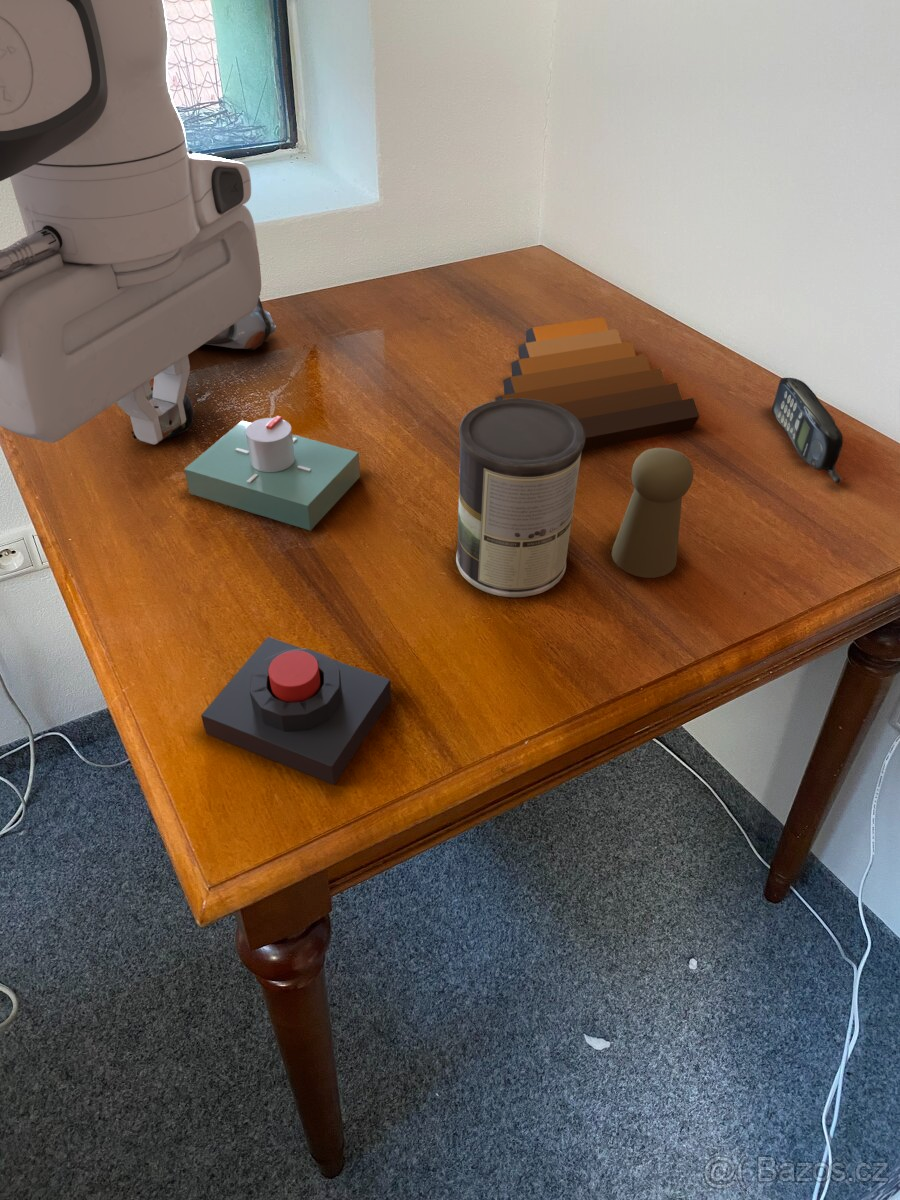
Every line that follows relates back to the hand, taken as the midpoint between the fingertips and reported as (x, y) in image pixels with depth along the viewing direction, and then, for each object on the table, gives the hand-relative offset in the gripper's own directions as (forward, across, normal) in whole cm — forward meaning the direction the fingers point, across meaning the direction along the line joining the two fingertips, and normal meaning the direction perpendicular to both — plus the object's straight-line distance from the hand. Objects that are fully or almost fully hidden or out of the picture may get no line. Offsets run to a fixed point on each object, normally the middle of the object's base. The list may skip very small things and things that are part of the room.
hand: (161, 432), depth 55 cm
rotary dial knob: (+19, +24, +10) cm, 32 cm away
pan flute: (+22, +53, -9) cm, 58 cm away
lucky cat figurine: (+21, +48, +34) cm, 63 cm away
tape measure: (+22, +27, +27) cm, 44 cm away
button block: (+22, -1, -8) cm, 24 cm away
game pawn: (+22, +29, -27) cm, 46 cm away
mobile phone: (+22, +55, -38) cm, 71 cm away
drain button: (+19, -1, -8) cm, 20 cm away
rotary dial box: (+22, +24, +10) cm, 34 cm away
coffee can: (+22, +23, -16) cm, 36 cm away
